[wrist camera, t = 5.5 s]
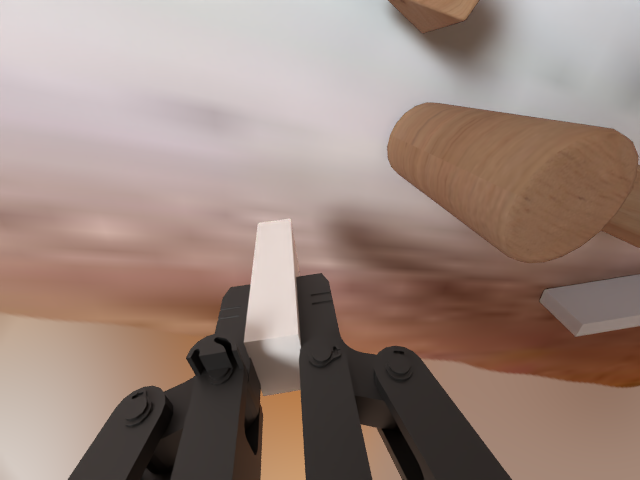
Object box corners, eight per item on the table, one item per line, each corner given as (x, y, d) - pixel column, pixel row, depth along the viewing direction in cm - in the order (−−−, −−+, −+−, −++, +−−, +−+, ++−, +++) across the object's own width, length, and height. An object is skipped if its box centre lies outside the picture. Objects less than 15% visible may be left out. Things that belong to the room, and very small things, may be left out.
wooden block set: (602, 144, 19) (886, 200, 10) (503, 245, 22) (659, 357, 13) (402, -79, 13) (707, -446, 4) (299, 107, 16) (337, 144, 7)
